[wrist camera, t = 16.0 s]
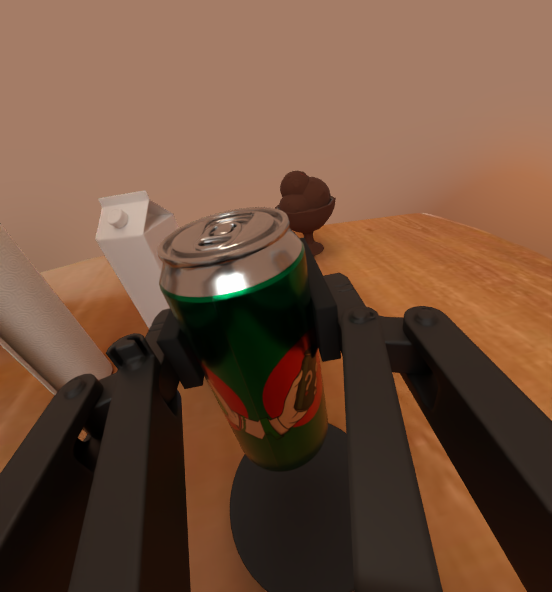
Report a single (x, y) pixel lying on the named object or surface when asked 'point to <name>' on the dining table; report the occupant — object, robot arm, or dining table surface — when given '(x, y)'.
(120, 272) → the milk carton
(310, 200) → the ice cream bowl
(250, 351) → the soda can
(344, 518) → the coaster
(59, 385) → the paper towel roll
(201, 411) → the dining table surface
